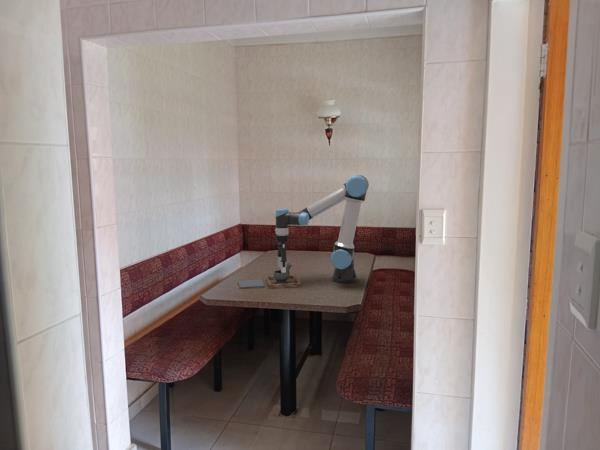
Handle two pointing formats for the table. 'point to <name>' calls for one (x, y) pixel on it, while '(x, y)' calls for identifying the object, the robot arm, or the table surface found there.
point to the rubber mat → (251, 284)
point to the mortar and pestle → (282, 275)
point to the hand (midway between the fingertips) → (281, 269)
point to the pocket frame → (297, 284)
